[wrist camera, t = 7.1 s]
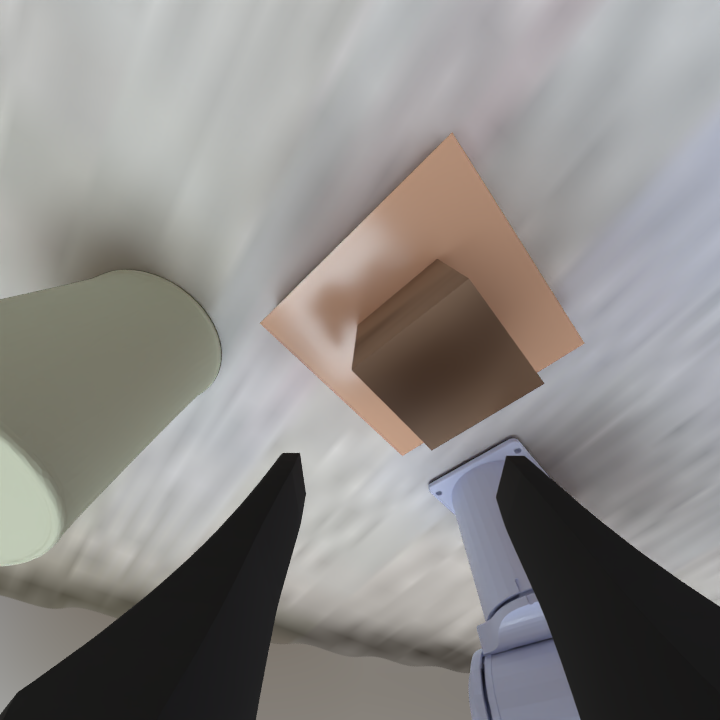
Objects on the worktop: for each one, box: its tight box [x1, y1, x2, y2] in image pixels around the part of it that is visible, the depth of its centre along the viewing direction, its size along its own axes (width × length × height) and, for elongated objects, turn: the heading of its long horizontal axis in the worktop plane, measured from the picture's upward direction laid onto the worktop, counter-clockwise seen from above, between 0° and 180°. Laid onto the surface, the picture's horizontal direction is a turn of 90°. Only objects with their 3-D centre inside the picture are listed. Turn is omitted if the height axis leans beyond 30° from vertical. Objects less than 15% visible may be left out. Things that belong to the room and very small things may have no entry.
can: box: [0, 270, 221, 566], centre depth 14 cm, size 9×9×12 cm
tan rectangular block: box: [260, 133, 584, 456], centre depth 17 cm, size 12×12×3 cm
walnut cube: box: [352, 259, 544, 450], centre depth 13 cm, size 5×5×5 cm
